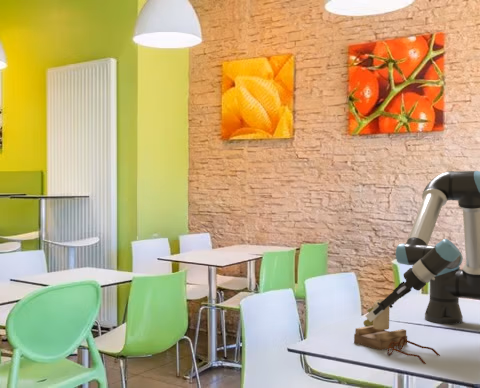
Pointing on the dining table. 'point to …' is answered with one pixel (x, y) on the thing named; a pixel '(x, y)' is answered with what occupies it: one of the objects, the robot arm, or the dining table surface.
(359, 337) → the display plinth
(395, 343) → the glasses
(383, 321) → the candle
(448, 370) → the dining table surface
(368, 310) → the brass knob
